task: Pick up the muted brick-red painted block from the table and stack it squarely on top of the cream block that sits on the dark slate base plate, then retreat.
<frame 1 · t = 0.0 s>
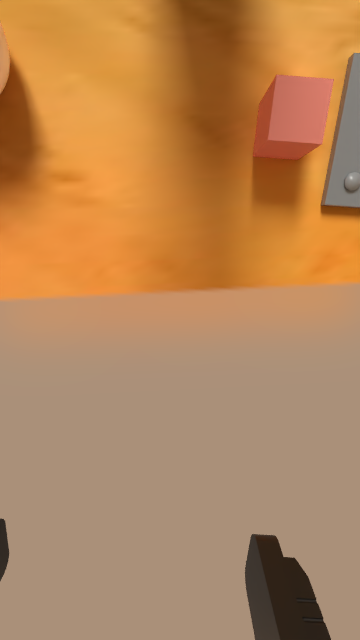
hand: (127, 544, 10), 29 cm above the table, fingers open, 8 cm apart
red brick: (278, 132, 32), on the table
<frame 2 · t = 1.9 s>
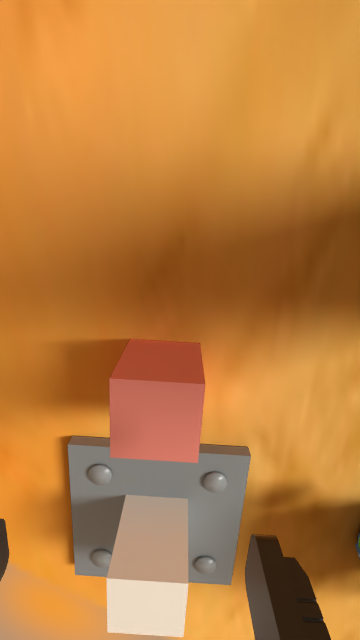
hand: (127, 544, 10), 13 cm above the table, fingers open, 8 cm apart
base plate: (156, 509, 25), on the table
cream brick: (155, 520, 24), point 1 cm above the table, touching base plate
red brick: (163, 372, 22), on the table
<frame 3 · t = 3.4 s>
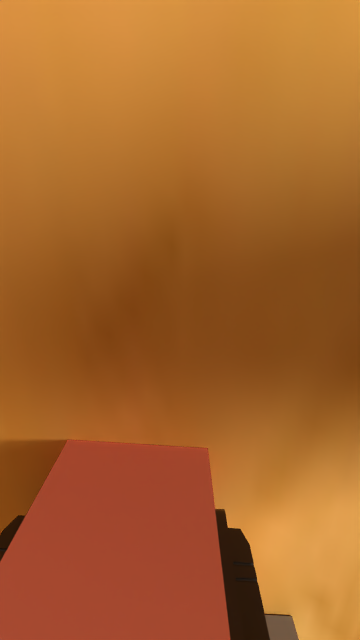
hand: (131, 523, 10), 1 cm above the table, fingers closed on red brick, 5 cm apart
red brick: (136, 498, 11), on the table, touching gripper
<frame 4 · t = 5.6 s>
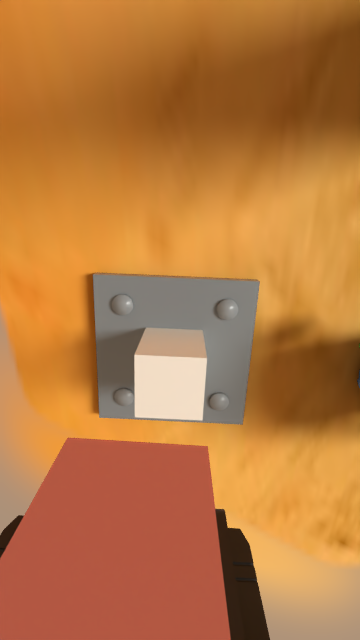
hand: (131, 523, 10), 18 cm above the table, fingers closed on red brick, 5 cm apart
base plate: (173, 350, 28), on the table
cream brick: (173, 354, 27), point 1 cm above the table, touching base plate
red brick: (136, 497, 11), point 17 cm above the table, touching gripper
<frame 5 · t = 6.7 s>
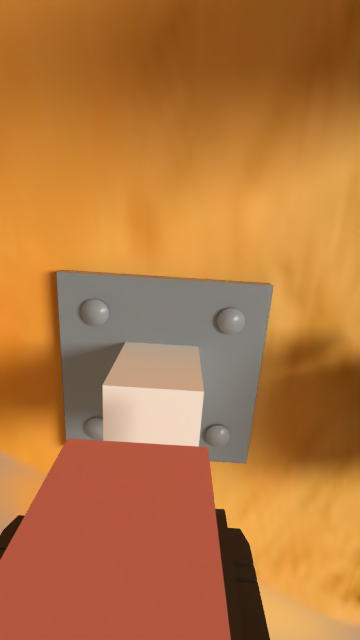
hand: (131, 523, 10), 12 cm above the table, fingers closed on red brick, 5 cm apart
base plate: (161, 370, 22), on the table
cream brick: (160, 376, 21), point 1 cm above the table, touching base plate
red brick: (136, 497, 11), point 11 cm above the table, touching gripper
when the fingers open (9 cm above the table, at t = 7.8 s): red brick stays where it is, resting on cream brick.
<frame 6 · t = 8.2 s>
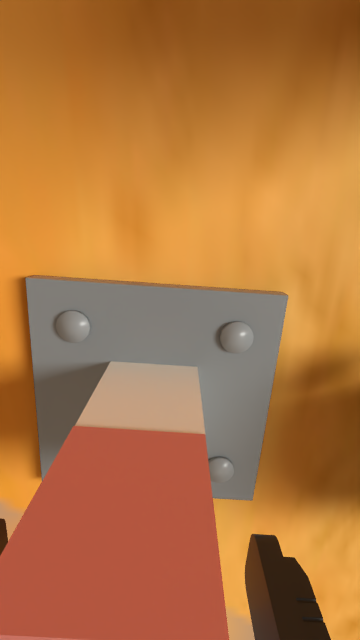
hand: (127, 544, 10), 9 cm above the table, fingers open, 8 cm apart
base plate: (153, 393, 19), on the table
cream brick: (152, 402, 18), point 1 cm above the table, touching base plate, red brick
red brick: (137, 482, 12), point 7 cm above the table, touching cream brick
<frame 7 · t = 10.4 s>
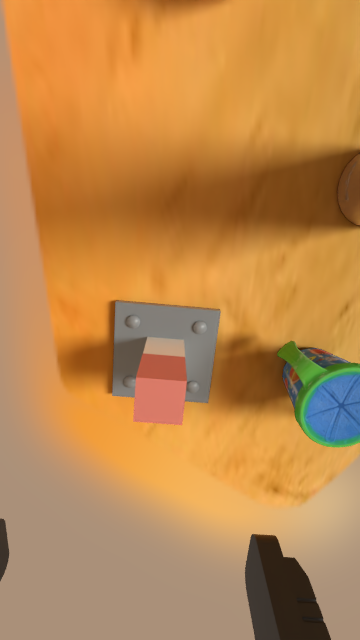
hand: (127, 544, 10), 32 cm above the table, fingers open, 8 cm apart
base plate: (164, 352, 42), on the table
cream brick: (164, 355, 41), point 1 cm above the table, touching base plate, red brick
snack cup: (306, 369, 43), on the table
red brick: (162, 374, 35), point 7 cm above the table, touching cream brick
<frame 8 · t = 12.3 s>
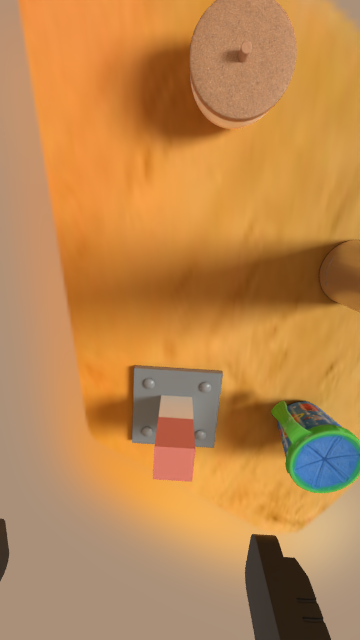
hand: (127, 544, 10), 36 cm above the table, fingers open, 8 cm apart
base plate: (175, 406, 49), on the table
cream brick: (175, 409, 48), point 1 cm above the table, touching base plate, red brick
lidded jar: (230, 93, 37), on the table
snack cup: (298, 418, 50), on the table
red brick: (174, 433, 43), point 7 cm above the table, touching cream brick
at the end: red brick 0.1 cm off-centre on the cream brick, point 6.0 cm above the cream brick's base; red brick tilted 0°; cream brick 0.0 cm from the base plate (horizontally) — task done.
